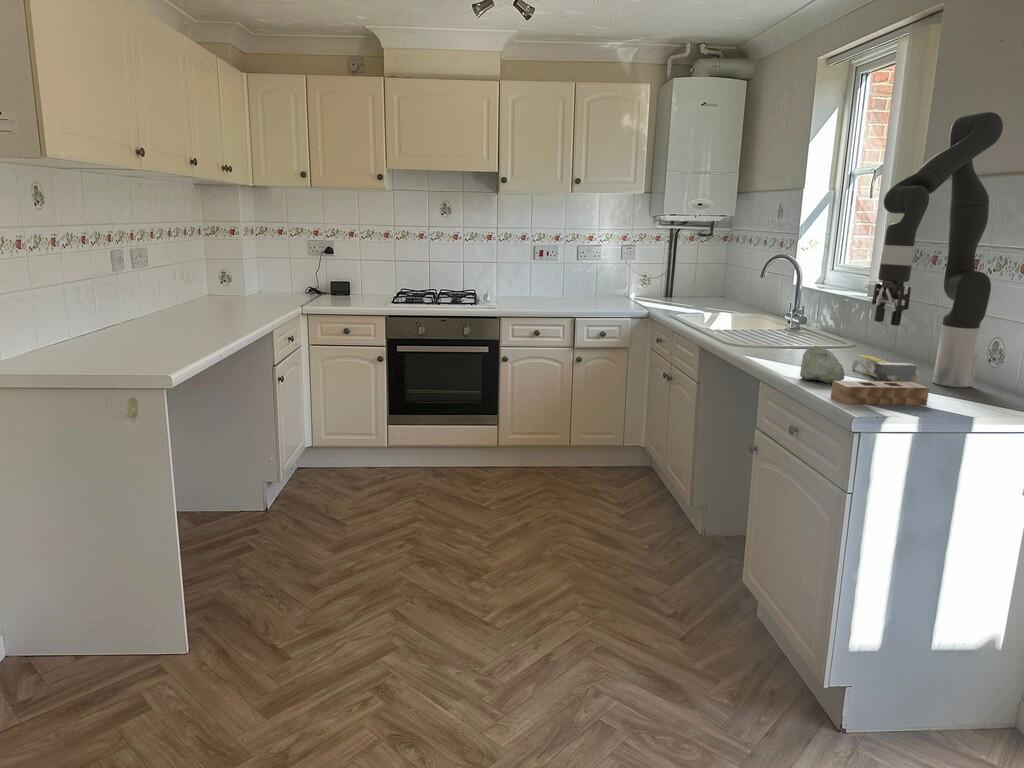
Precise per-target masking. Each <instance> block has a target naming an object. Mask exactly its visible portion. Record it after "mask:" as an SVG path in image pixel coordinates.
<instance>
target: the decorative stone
mask: <svg viewBox="0 0 1024 768" xmlns="http://www.w3.org/2000/svg"><path fill="white" fill-rule="evenodd" d="M799 376H800V378H802V379H804V380H806V381H814V380H815V381H819V382H821V383H823V384H828V385H832V384H833V381H845V369H844V367H843V365H842V364H841V363H840V361H839V359H838V358H837V357H836V356H835V354H834V353H833V352H831V351H830V350H829V349H827V348H825V347H823V346H821V345H817V344H815V345H813V346H809V347H807V349H806V350H805V351H804V353H803V354H802V360H801V366H800V372H799Z"/></svg>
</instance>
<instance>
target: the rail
mask: <svg viewBox="0 0 1024 768" xmlns="http://www.w3.org/2000/svg"><path fill="white" fill-rule="evenodd" d="M831 385H832V387H831V393H830V398H832V399H833V400H836V401H838V402H840V403H842V404H844V405H890V406H891V405H895V406H897V405H898V406H899V405H901V406H903V405H905V406H909V405H910V406H927V405H928V404H927V403H928V397H929V392H930V387H927V386H925V385H922V384H920V383H919V384H917V383H914V382H892V381H889V380H887V381H876V380H874V381H873V380H871V381H869V380H842V381H833V384H831Z"/></svg>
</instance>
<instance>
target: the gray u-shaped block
mask: <svg viewBox="0 0 1024 768" xmlns="http://www.w3.org/2000/svg"><path fill="white" fill-rule="evenodd" d="M917 367H918V366H917V364H913V363H911V362H889V363H886V362H883V363H881V362H879V363H875V369H874V373H875V374H877V375H876V378H875V381H888V380H887V378H888V376H900V382H911V380H912V376H915V374H916V371H917Z"/></svg>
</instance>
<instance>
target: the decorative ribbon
mask: <svg viewBox="0 0 1024 768" xmlns="http://www.w3.org/2000/svg"><path fill="white" fill-rule="evenodd" d="M860 356H861V357H864V358H865V361H864V360H861V359H860V358H858V357H856V358H855V359H854V361H853V363H852V365H851V369H852V370H854V371H855V370H856V368H857V366H858V364H860V366H861V367H862V368H863V369H864V370H865V371H866V372H865V371H863V370H862V372H863V373H865V374H867V375H869V376H871V377H874V379H876V375H877V374H875V373H874V369H875V363H890V362H889V361H887V360H883V359H880V358H877V357H874V356H872V355H871V356H870V355H863V354H860ZM887 381H888V382H900V376H888V378H887ZM911 382H914V383H917V384H920V383H921V382H922V373H920V372H919V371H918V370H916V374H915V376H912V380H911Z"/></svg>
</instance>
